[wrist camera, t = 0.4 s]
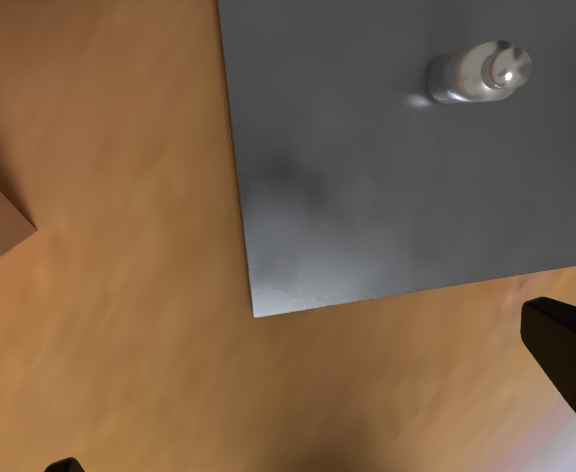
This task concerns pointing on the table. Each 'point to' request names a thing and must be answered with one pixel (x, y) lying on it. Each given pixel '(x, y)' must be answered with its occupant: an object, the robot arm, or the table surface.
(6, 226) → the sleeve
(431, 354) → the table surface
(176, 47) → the table surface
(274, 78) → the plate
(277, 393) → the table surface
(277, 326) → the table surface
